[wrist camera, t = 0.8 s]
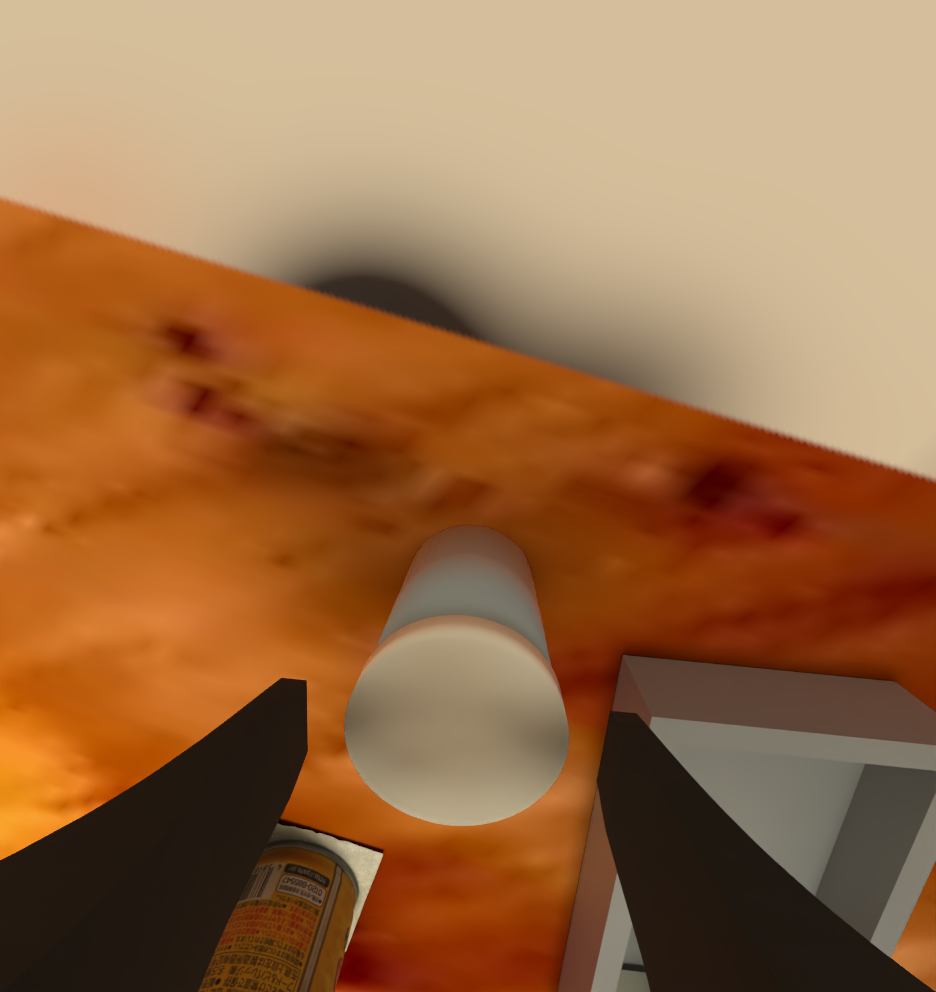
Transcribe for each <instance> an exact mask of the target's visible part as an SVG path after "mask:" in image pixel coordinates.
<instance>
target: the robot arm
mask: <svg viewBox="0 0 936 992" xmlns="http://www.w3.org/2000/svg"><path fill="white" fill-rule="evenodd" d="M307 751H308V744H307V681H306V680H296V679H286V678H281V679H279V680H278V681H277V682H275V683H274V684H273V685H272V686H270V687H269V688H268V689H266V690H265V691H264V692H263V693H261V694H260V695H259V696H257V697H256V698H255V699H254V700H252V701H251V702H250V703H248V704H247V705H246V706H245V707H243V708H242V709H241V710H239V711H238V712H237V713H236V714H234V715H233V716H232V717H230V718H229V719H228V720H227V721H225V722H224V723H223V724H221V725H220V726H219V727H217V728H216V729H215V730H213V731H212V732H211V733H209V734H208V735H207V736H205V737H204V738H203V739H201V740H200V741H199V742H197V743H196V744H194V745H193V746H191V747H190V748H189V749H187V750H186V751H184V752H183V753H181V754H180V755H179V756H177V757H176V758H174V759H173V760H171V761H170V762H169V763H167V764H166V765H164V766H163V767H161V768H160V769H159V770H157V771H156V772H154V773H153V774H151V775H150V776H148V777H146V778H145V779H143V780H142V781H140V782H139V783H137V784H136V785H134V786H132V787H131V788H129V789H128V790H126V791H124V792H123V793H121V794H120V795H118V796H116V797H115V798H113V799H111V800H110V801H108V802H106V803H105V804H103V805H101V806H100V807H98V808H96V809H95V810H93V811H91V812H89V813H88V814H86V815H84V816H83V817H81V818H79V819H77V820H75V821H73V822H72V823H70V824H68V825H66V826H64V827H62V828H60V829H59V830H57V831H55V832H53V833H51V834H49V835H48V836H46V837H44V838H42V839H40V840H38V841H36V842H35V843H33V844H31V845H29V846H27V847H25V848H24V849H22V850H20V851H18V852H16V853H14V854H12V855H10V856H8V857H6V858H4V859H2V860H0V992H198V991H199V989H200V986H201V984H202V982H203V979H204V977H205V974H206V972H207V969H208V967H209V965H210V962H211V960H212V957H213V955H214V953H215V950H216V948H217V945H218V943H219V941H220V938H221V936H222V934H223V932H224V930H225V928H226V925H227V923H228V921H229V919H230V917H231V915H232V912H233V910H234V908H235V906H236V904H237V902H238V900H239V898H240V897H241V895H242V893H243V891H244V889H245V887H246V885H247V883H248V881H249V879H250V877H251V875H252V873H253V871H254V869H255V867H256V865H257V863H258V861H259V859H260V857H261V855H262V853H263V851H264V849H265V847H266V845H267V843H268V841H269V839H270V837H271V835H272V833H273V831H274V829H275V827H276V825H277V823H278V821H279V819H280V817H281V815H282V813H283V811H284V809H285V807H286V805H287V803H288V801H289V799H290V797H291V794H292V792H293V789H294V786H295V784H296V781H297V779H298V776H299V773H300V771H301V768H302V765H303V762H304V760H305V757H306V754H307ZM597 785H598V791H599V797H600V803H601V809H602V814H603V820H604V825H605V830H606V834H607V838H608V841H609V845H610V848H611V852H612V856H613V859H614V863H615V866H616V870H617V873H618V877H619V880H620V884H621V887H622V891H623V894H624V897H625V901H626V904H627V908H628V911H629V915H630V918H631V922H632V925H633V929H634V932H635V936H636V939H637V943H638V946H639V949H640V953H641V956H642V960H643V964H644V968H645V972H646V976H647V980H648V984H649V988H650V992H935V991H934V990H932V989H931V988H930V987H928V986H927V985H925V984H924V983H923V982H921V981H920V980H919V979H917V978H916V977H915V976H913V975H912V974H911V973H909V972H908V971H907V970H906V969H904V968H903V967H902V966H900V965H899V964H898V963H896V962H895V961H894V960H893V959H891V958H890V957H889V956H887V955H886V954H885V953H883V952H882V951H881V950H880V949H878V948H877V947H876V946H875V945H873V944H872V943H871V942H870V941H869V940H867V939H866V938H865V937H864V936H862V935H861V934H860V933H859V932H857V931H856V930H855V929H854V928H852V927H851V926H850V925H849V924H848V923H846V922H845V921H844V920H843V919H841V918H840V917H839V916H838V915H836V914H835V913H834V912H833V911H832V910H830V909H829V908H828V907H827V906H826V905H825V904H823V903H822V902H821V901H820V900H819V899H818V898H816V897H815V896H814V895H813V894H812V893H811V892H809V891H808V890H807V889H806V888H805V887H804V886H803V885H802V884H800V883H799V882H798V881H797V880H796V879H795V878H794V877H793V876H792V875H790V874H789V873H788V872H787V871H786V870H785V869H784V868H783V867H782V866H780V865H779V864H778V863H777V862H776V861H775V860H774V859H773V858H772V857H771V856H770V855H768V854H767V853H766V852H765V851H764V850H763V849H762V848H761V847H760V846H759V845H758V844H757V843H756V842H755V841H754V840H753V839H752V838H751V837H750V836H749V835H748V834H747V833H746V832H745V831H744V830H743V829H742V828H741V827H740V826H739V825H738V824H737V823H736V822H735V821H734V820H733V819H732V818H731V817H730V816H729V815H728V814H727V813H726V812H725V811H724V810H723V809H722V808H721V807H720V806H719V805H718V804H717V803H716V802H715V801H714V800H713V799H712V798H711V796H710V795H709V794H708V793H707V792H706V791H705V790H704V789H703V788H702V787H701V786H700V785H699V784H698V782H697V781H696V780H695V779H694V778H693V777H692V776H691V775H690V774H689V773H688V771H687V770H686V769H685V768H684V767H683V766H682V765H681V764H680V762H679V761H678V760H677V759H676V758H675V757H674V756H673V754H672V753H671V752H670V751H669V750H668V749H667V748H666V746H665V745H664V744H663V743H662V742H661V741H660V739H659V738H658V737H657V736H656V735H655V734H654V732H653V731H652V730H651V729H650V728H649V727H648V726H647V724H646V723H645V722H644V721H643V720H642V719H641V718H640V716H639V715H638V714H637V713H629V712H619V711H610V715H609V721H608V726H607V731H606V736H605V741H604V747H603V752H602V757H601V762H600V767H599V772H598V778H597Z"/></svg>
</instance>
